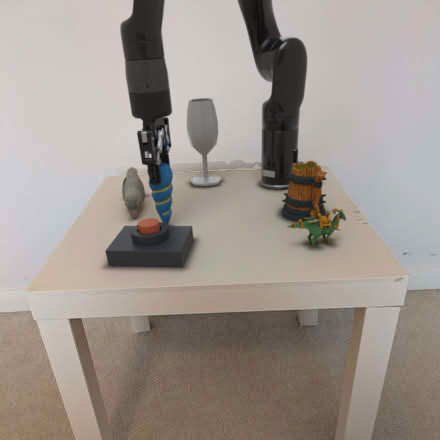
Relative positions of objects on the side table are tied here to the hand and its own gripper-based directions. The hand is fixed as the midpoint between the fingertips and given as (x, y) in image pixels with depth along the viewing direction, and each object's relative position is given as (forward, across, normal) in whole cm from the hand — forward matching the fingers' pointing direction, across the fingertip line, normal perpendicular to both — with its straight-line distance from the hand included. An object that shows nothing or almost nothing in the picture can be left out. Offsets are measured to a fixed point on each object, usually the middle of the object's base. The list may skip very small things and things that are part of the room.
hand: (160, 177), depth 81 cm
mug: (+11, +6, -30) cm, 33 cm away
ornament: (+11, 0, 0) cm, 11 cm away
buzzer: (+11, -12, 0) cm, 16 cm away
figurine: (+11, -8, -31) cm, 34 cm away
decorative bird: (+11, +12, +11) cm, 20 cm away
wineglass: (+11, +30, -4) cm, 32 cm away
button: (+6, -12, 0) cm, 14 cm away
